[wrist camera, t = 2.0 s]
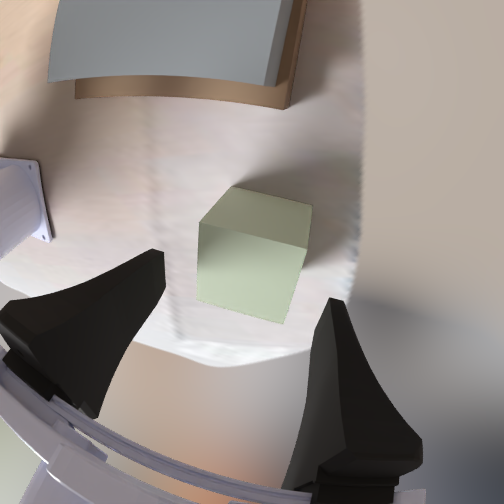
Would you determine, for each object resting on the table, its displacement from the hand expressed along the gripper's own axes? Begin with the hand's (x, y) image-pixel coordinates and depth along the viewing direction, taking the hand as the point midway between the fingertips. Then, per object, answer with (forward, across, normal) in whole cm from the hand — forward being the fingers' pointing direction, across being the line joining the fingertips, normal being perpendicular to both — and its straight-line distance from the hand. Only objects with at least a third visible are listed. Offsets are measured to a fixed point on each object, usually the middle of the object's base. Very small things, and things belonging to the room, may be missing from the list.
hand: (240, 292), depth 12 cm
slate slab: (+3, +6, -12) cm, 14 cm away
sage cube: (+6, 0, 0) cm, 6 cm away
